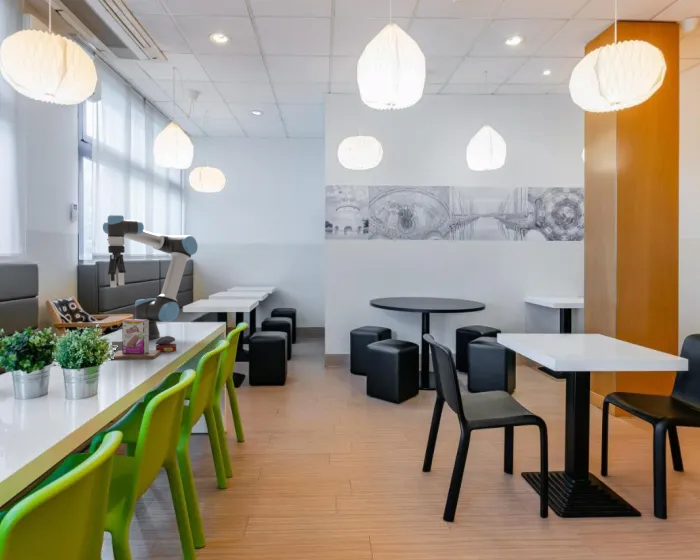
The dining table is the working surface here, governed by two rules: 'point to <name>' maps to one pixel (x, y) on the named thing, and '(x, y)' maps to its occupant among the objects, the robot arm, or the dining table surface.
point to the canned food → (164, 346)
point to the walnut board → (136, 355)
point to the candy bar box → (135, 336)
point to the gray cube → (119, 343)
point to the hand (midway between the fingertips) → (117, 286)
